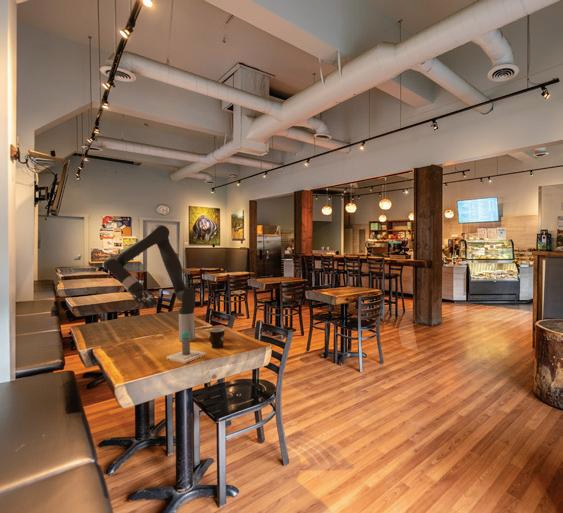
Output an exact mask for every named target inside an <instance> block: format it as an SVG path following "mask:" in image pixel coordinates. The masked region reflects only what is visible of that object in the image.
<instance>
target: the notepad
mask: <svg viewBox="0 0 563 513" xmlns="http://www.w3.org/2000/svg"><path fill="white" fill-rule="evenodd" d="M204 355H205V356H207V352H203V351H198V350H196V349H195V350H193V349H190V354H189V355H182V350H181V351H179V352H178V351H177V352H176V353H173V354H170V355H166V356H165V359H166V360H168V359H169V360H168V361H173V362H177V363H181V364H184V363H185V364H187V362H188V363H190V362H192V360H193V361H195V360H197V358H198V359H200V358H203V357H205V356H204ZM202 356H203V357H202ZM199 357H200V358H199ZM194 359H195V360H194ZM189 361H190V362H189Z"/></svg>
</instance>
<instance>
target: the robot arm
mask: <svg viewBox="0 0 563 513" xmlns="http://www.w3.org/2000/svg"><path fill="white" fill-rule="evenodd" d="M169 236H170V230H169V228H168V227H167V226H166V225H163V224H155V225H153V227H152V228H151V231H150V233H149V234H148V235H145V237H143V238H142V239H140V240H138V241H136V242H134V243H132V244H130V245H128V246H127V247H125V248H124V249H123V250H121V251H120V252H119V254H118V256H117V257H116V258H115V257H113V256H111V257H107V258H106V259H105V260H103V261H104V262H103V266H104V267H105V269H106V270H107V271H109V273H110V274H112V275H113V277H115V278H116V280H117V281H118V282H119V283H120V284H121V285H122V287H124V288H125V290H126V291H127V292H128V293H130V295H131V296H132V298H133V299H134V301H135V302H137V304H138V305H143V306H144V308H146V309H150V307H151V304H153V306H155V307H156V306H157V305H158V304H159V302H158V301H157V300H156V299H155V297H156V296H155V294H154V293H152V292H151V291H150V290H148V289H147V290H144V288H145V287H144V284H142V283H141V282H140V281H139V280H138V279H137V278H136V277H135V276H133V275H132V273H131V272H129V271H128V270H127V269H126V268H125V266H126V265H127V263H130V261H132V260H133V259H135V258H136V257H138V256H139V255H140V254H142V253H143V252H145V251H146V250H148V249H149V248H151V247H153V246H155V245H156V246H157V248H158V251H159V254H160V257H161V260H162V262H163V265H164V267H165V269H166V272H167V276H168V277H169V279H170V281H171V284H172V288H173V290H174V294H175V297H176V299H177V300H178V301H179V302H181V307H179V309H178V339H179V340H178V341H179V342H181V343H182V332H183V331H190V342H193V341H194V340H196V324H195V316H194V315H195V312H194V311H195V307H196V292H195V291H194V289H193V288H190V287H187V286H186V284H185V282H184V279H183V267H182V263H181V261H180V258H179V256H178V254H177V253H176V251H175V249H174V248H173V246H172V244H171V243H170V239H169ZM148 301H149V302H151V304H149V302H148Z"/></svg>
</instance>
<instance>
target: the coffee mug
mask: <svg viewBox="0 0 563 513" xmlns="http://www.w3.org/2000/svg"><path fill="white" fill-rule="evenodd" d="M225 331H226V330H225V328H220V327H219V328H212V329H210V330H209V342H210V344H211V349H215V350H219V349H223V347H224V340H225V339H224V338H225Z"/></svg>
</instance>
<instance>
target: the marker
mask: <svg viewBox="0 0 563 513" xmlns="http://www.w3.org/2000/svg"><path fill="white" fill-rule="evenodd" d="M190 350H191V341H190V331H183V332H182V342H181V351H182V355H189V354H190Z"/></svg>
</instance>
